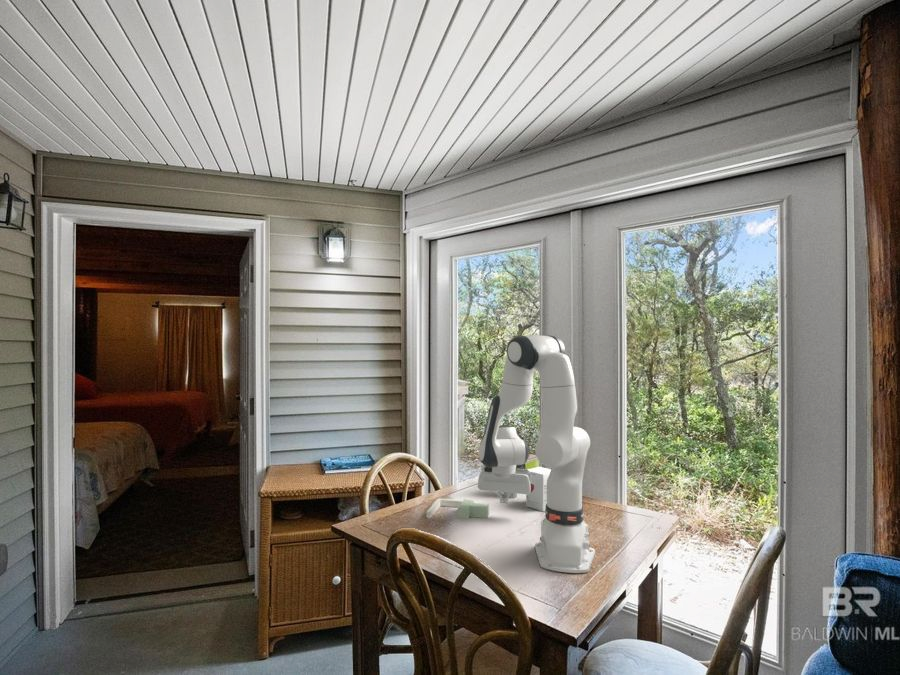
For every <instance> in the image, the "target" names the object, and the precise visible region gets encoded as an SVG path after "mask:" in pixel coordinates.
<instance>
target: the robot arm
mask: <svg viewBox="0 0 900 675" xmlns="http://www.w3.org/2000/svg"><path fill="white" fill-rule="evenodd" d="M535 370H536V371H537V372H538V375H539V379H540V380H539V381H540V382H539V383H540V393H541V403H542V404H541V405H542V414H541V416H542V417H541V425H540V431H539V432H540V433H539V438H538V439H537V442H536V443H535V447H534V448H535V449H534V450H535V455H536V456H537V458H538V460H539V463H540V464H542V465H543V466H544V467H547V468H550V469H551V471H550V474H549V476H548V479H547V504H546V508H545V511H544V513H545V515H544V516H545V518H543V519H542V520H541V523H540V524H541V525H540V526H541V527H540V530H541V531H540V532H541V534H540V537H539V541H538V542H535V543H534V549H535V553H536V556H537V559H538V563H539V566H540V567H541V568H543V569H546V570H549V571H554V572H561V573H569V574H570V573H571V574H584V573H585V574H586V573H588V572H589V570H590V568H591V565H592V562H593V560H594V557H595V556H596V550H595V549H594V548H592V547H591V541H589V539H590V533H589V525H588V524H587V523H586V522H585V521H584V520H585V518H584V515H585V511H584V506H583V478H584V474H585V473H584V472H585V467H586V462H587V456H588V452H589V449H590V447H591V438H590V435H589V434H588V433H587V431H586V430H585V429H583V428H581V427H578V426H575V418H576V414H577V413H578V399H577V391H576V390H577V389H576V383H575V376H574V371H573V367H572V364H571V360H570V357H569V356H568V355H567V354H566V347H565V343H564V342H563V340H561V338H559V337H557V336H554V335H540V334H529V335H519V336H515V337H513V338H511V340H509V342H508V343H507V346H506V359H505V363H504V366H503V372H502V382H501V388H500V389H499V392H498V393H497V394H496V395H495V396H493V398H492V399H491V402H490V406H489V409H488V412H487V418H486V422H485V427H484V431H483V435H482V438H481V441H480V444H479V448H478V459H479V462H480V463H481V464H482V466H481V468H480V470H481V472H480V473H479V475H478V481H477V482H478V483H477V487H478V489H479V490H480V491H488V492H496V495H497V497H498V498H499V503H500V504H503V505H505V504H508V503H509V499H510V498H509V497H510V495H511V493H517V495H518V494H519V495H526V494H529V493H530V491H531V484H530V481H531V479H532V473H531V472H530V471H529V470H528V469H520V468H516V465H521V464H524V463H525V462H526V461H527V460H528V458H529V454H530V446H529V444H528V443H527V442H526V441H525V440H524V439H523V438H521V437H520V436H519V435H518V433H517V429H516V427H515V426H514V425H500V423H501V420H502V419H503V417H504V416H505V415H507V414H508V413H510V412H512V411H515V410H516V409H520V408H521V407H524V406H525V405H526V404H527V403H528V402H529V401H530V400H531V398H532V396H533V389H534V373H535ZM528 471H529V472H528ZM503 492H507V495H508V496H507V497H503V496H502V493H503Z"/></svg>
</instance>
